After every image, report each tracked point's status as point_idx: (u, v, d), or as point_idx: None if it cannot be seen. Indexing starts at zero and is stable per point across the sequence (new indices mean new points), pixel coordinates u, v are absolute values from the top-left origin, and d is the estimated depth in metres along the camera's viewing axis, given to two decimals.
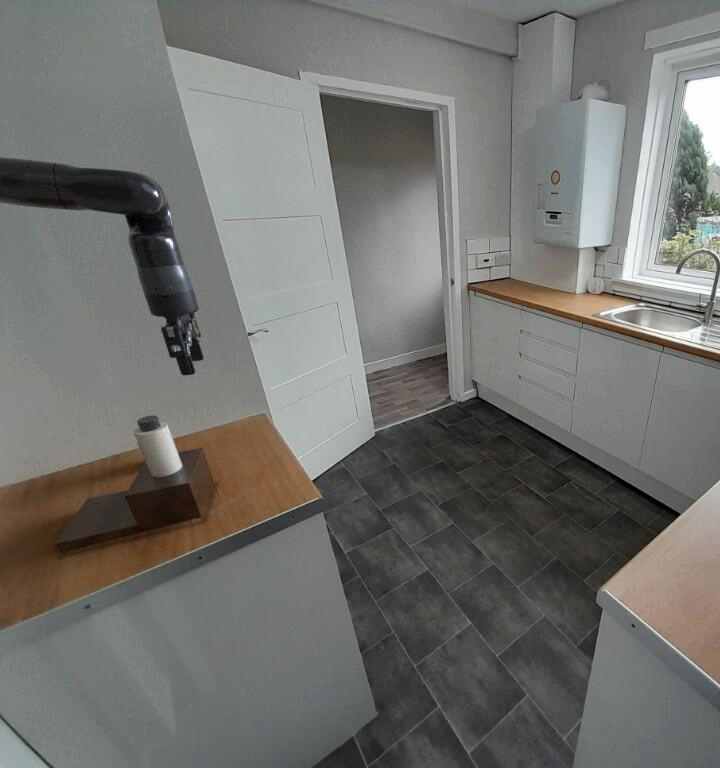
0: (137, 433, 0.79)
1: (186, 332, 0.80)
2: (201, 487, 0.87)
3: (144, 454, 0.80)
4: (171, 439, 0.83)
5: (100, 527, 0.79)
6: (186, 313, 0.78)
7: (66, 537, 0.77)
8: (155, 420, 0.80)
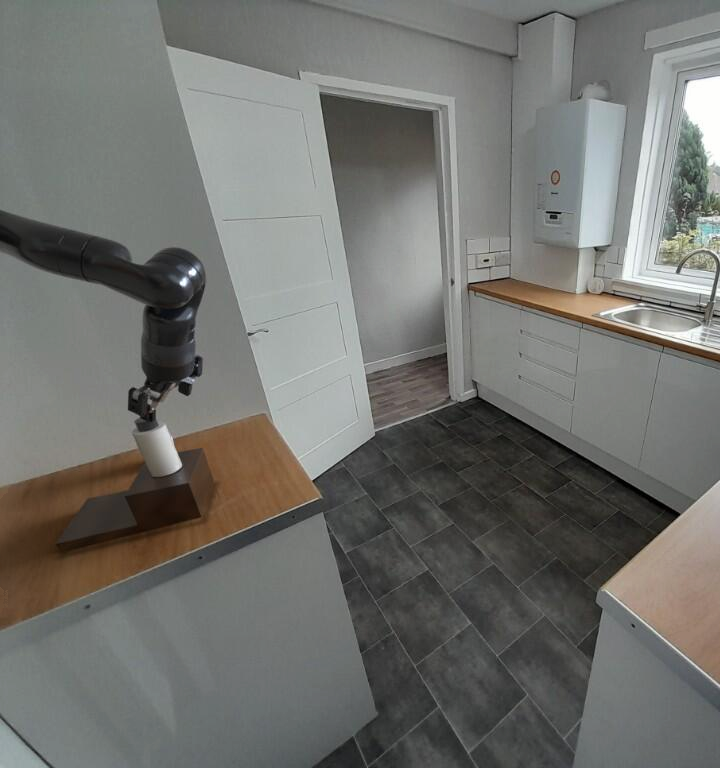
0: (135, 434, 0.78)
1: (163, 391, 0.76)
2: (201, 487, 0.87)
3: (143, 454, 0.80)
4: (169, 438, 0.83)
5: (100, 527, 0.79)
6: (167, 381, 0.74)
7: (66, 537, 0.77)
8: None
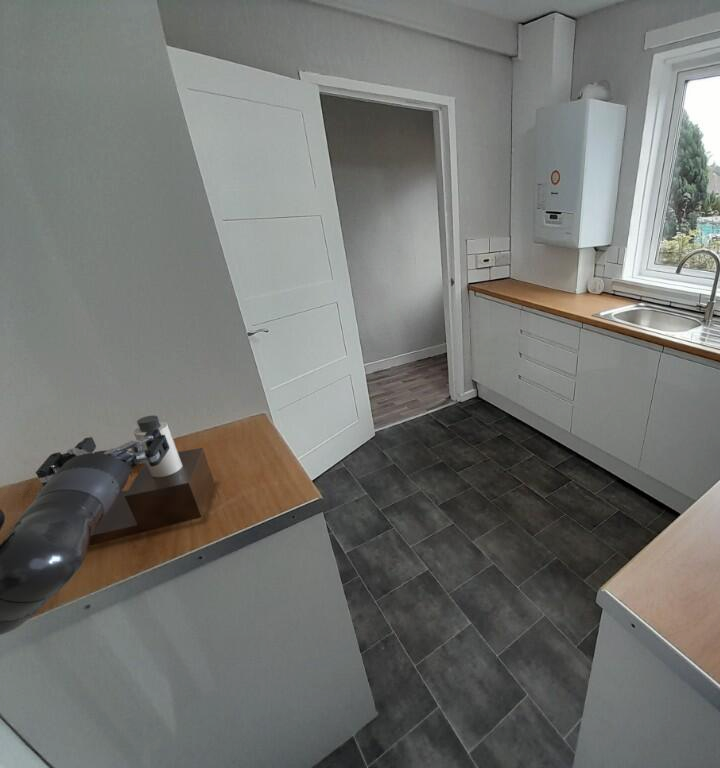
0: (137, 433, 0.79)
1: None
2: (201, 487, 0.87)
3: None
4: (171, 439, 0.83)
5: (100, 527, 0.79)
6: None
7: None
8: (155, 420, 0.80)
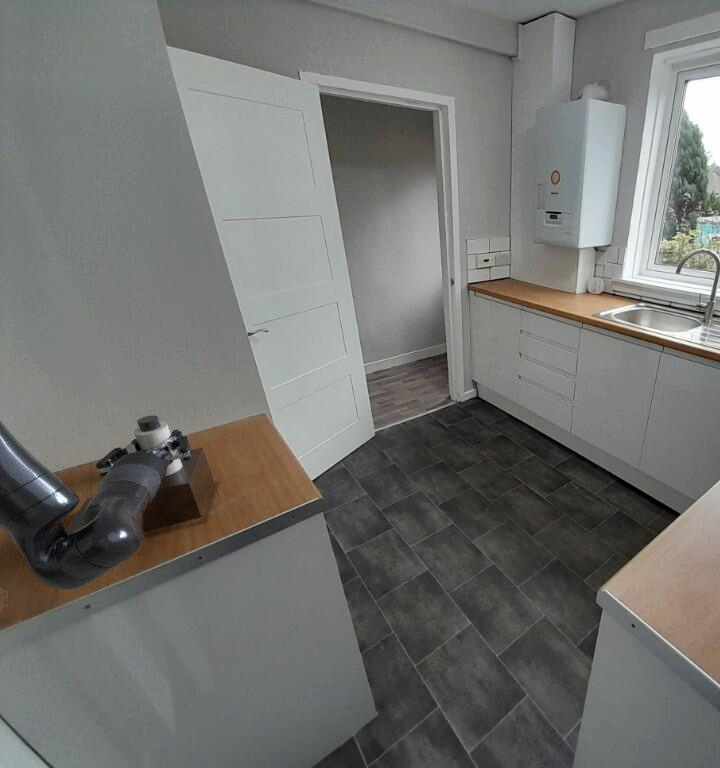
0: (137, 433, 0.79)
1: None
2: (201, 487, 0.87)
3: None
4: None
5: None
6: None
7: None
8: (155, 420, 0.80)
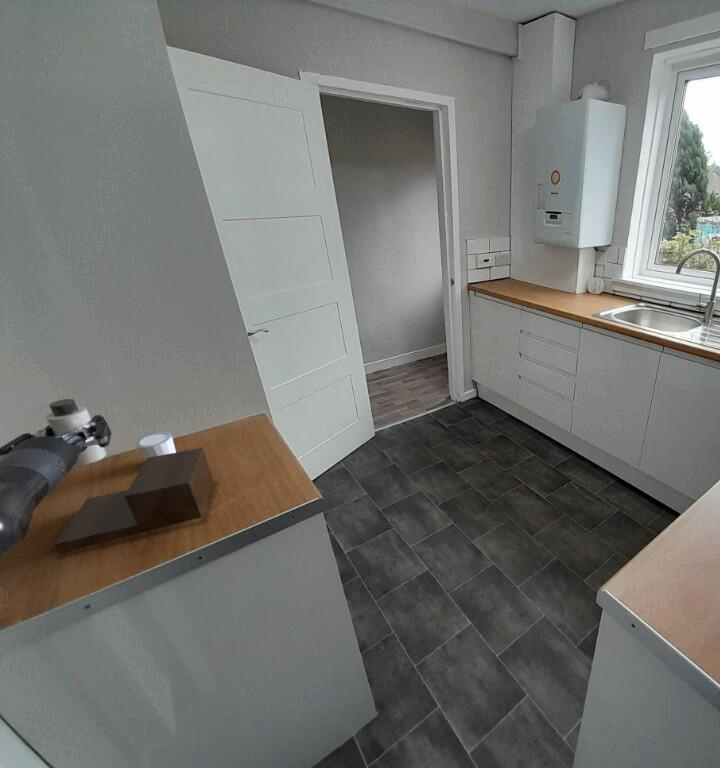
0: (48, 418, 0.72)
1: None
2: (201, 487, 0.87)
3: None
4: None
5: (100, 527, 0.79)
6: None
7: (66, 537, 0.77)
8: (70, 404, 0.73)
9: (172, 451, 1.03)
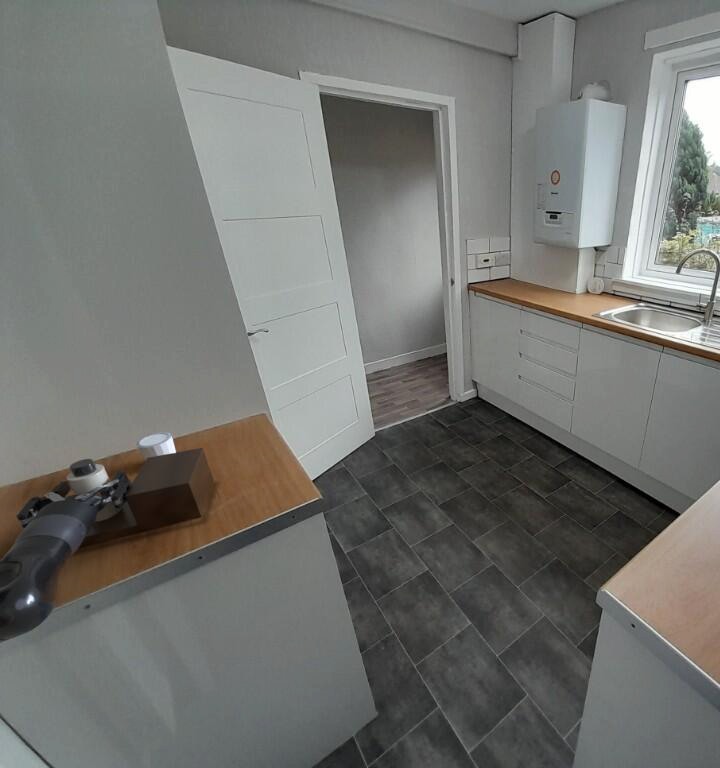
0: (69, 479, 0.77)
1: None
2: (201, 487, 0.87)
3: None
4: (108, 482, 0.81)
5: (100, 527, 0.79)
6: None
7: None
8: (89, 464, 0.78)
9: (172, 451, 1.03)
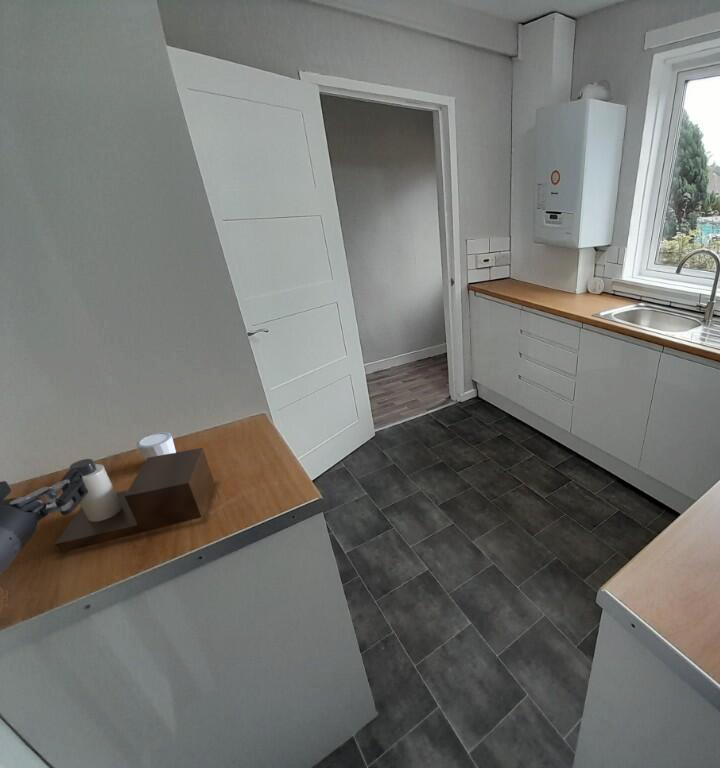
0: None
1: None
2: (201, 487, 0.87)
3: None
4: (108, 482, 0.81)
5: (100, 527, 0.79)
6: None
7: (66, 537, 0.77)
8: (89, 464, 0.78)
9: (172, 451, 1.03)
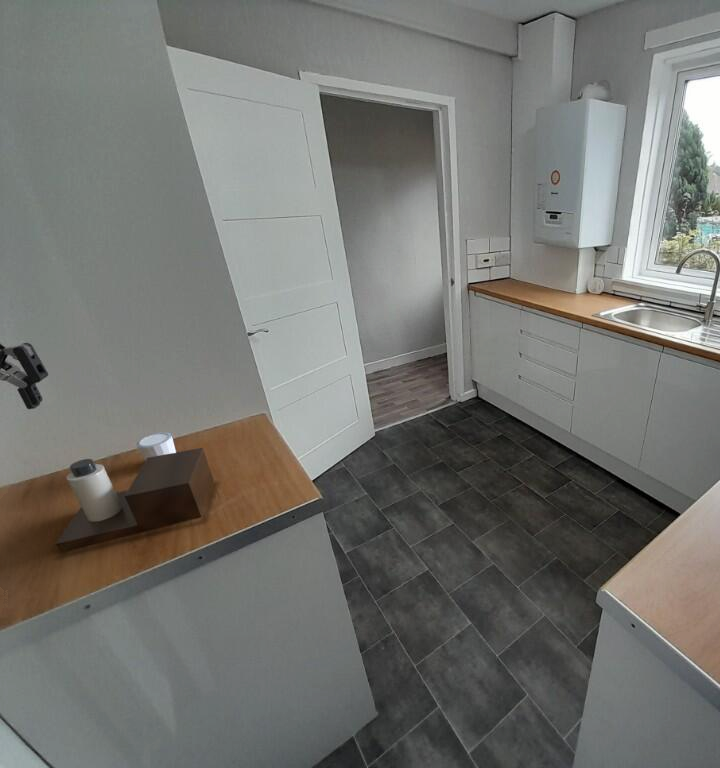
0: (69, 479, 0.77)
1: None
2: (201, 487, 0.87)
3: (78, 499, 0.78)
4: (108, 482, 0.81)
5: (100, 527, 0.79)
6: None
7: (66, 537, 0.77)
8: (89, 464, 0.78)
9: (172, 451, 1.03)
